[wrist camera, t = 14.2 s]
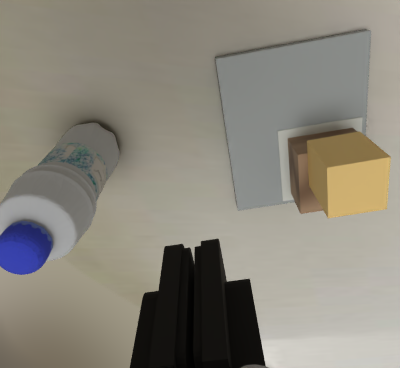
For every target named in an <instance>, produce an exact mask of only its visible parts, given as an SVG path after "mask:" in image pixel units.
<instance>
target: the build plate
mask: <svg viewBox="0 0 400 368" xmlns="http://www.w3.org/2000/svg"><path fill="white" fill-rule="evenodd" d="M370 41H371V30H367V29H365V30H359V31H354V32H349V33H343V34H338V35H333V36H327V37H322V38H316V39H311V40H306V41H300V42H295V43H289V44H284V45H279V46H273V47H268V48H263V49H257V50H252V51H246V52H241V53H236V54H230V55H225V56H219V57H215V60H216V67H217V74H218V81H219V87H220V94H221V101H222V108H223V114H224V121H225V128H226V135H227V141H228V148H229V155H230V162H231V168H232V175H233V182H234V189H235V195H236V202H237V208H238V211H239V210H245V209H252V208H259V207H265V206H272V205H279V204H285V203H292V202H295V201H294V199H293V196H292V194H291V187H290V171H289V154H288V138H292V137H299V136H305V135H311V134H317V133H323V132H329V131H335V130H341V129H347V128H354V129H355V130H356V131H357V132H359V131H360V132H361V133H363V134H364V135H365V136H366V117H367V98H368V79H369V60H370Z"/></svg>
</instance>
